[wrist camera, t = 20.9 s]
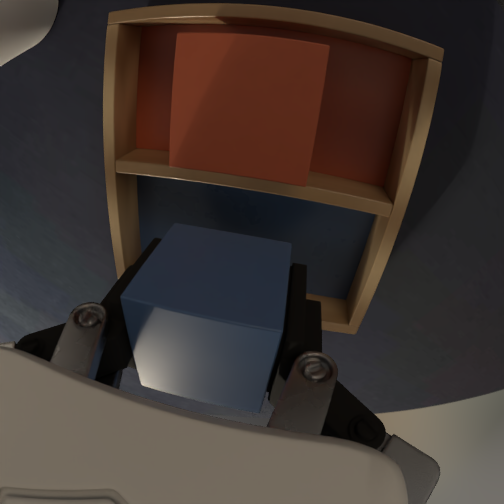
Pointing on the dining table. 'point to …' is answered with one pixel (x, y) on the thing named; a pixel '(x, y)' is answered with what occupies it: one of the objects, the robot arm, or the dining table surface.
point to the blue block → (209, 315)
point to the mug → (24, 25)
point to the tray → (263, 191)
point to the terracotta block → (246, 105)
